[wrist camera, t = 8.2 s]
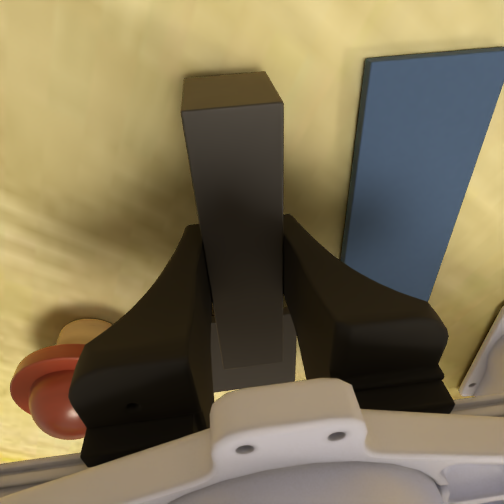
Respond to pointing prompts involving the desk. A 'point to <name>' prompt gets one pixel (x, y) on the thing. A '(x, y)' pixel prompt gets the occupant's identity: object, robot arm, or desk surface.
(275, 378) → the tall dark brown pillar
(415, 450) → the robot arm
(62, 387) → the mushroom
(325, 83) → the desk surface
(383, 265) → the blue board
